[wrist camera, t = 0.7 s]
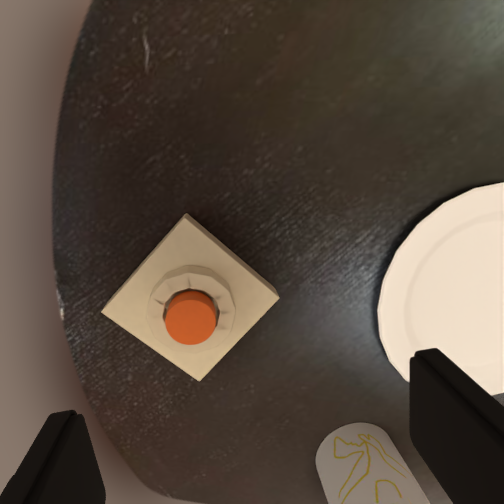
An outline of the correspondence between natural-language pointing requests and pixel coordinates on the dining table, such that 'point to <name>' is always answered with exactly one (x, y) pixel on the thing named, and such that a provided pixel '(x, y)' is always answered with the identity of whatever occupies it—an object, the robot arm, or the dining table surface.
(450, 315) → the plate
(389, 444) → the white patterned cylinder
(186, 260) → the square push button base
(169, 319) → the button
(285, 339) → the dining table surface
